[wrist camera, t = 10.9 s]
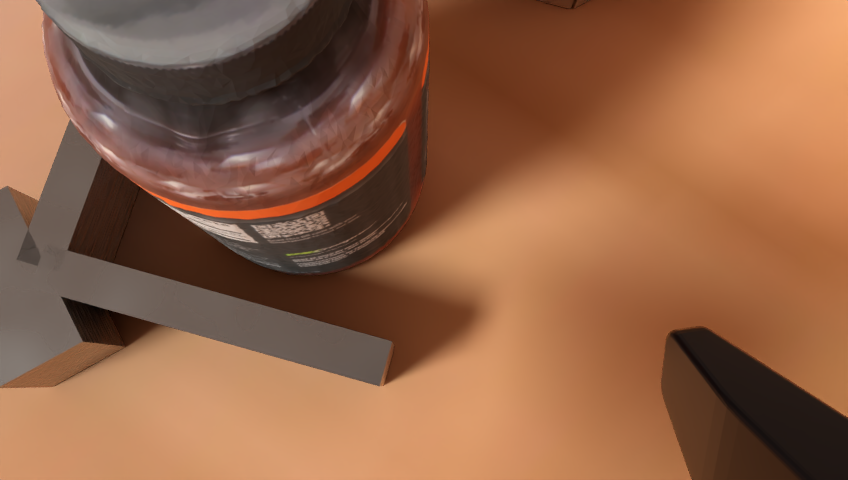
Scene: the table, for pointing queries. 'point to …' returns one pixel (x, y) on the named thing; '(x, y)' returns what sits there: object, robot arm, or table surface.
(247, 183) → the supplement bottle
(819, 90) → the table surface
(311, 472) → the table surface
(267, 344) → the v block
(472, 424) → the table surface
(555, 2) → the walnut collar
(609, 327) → the table surface
